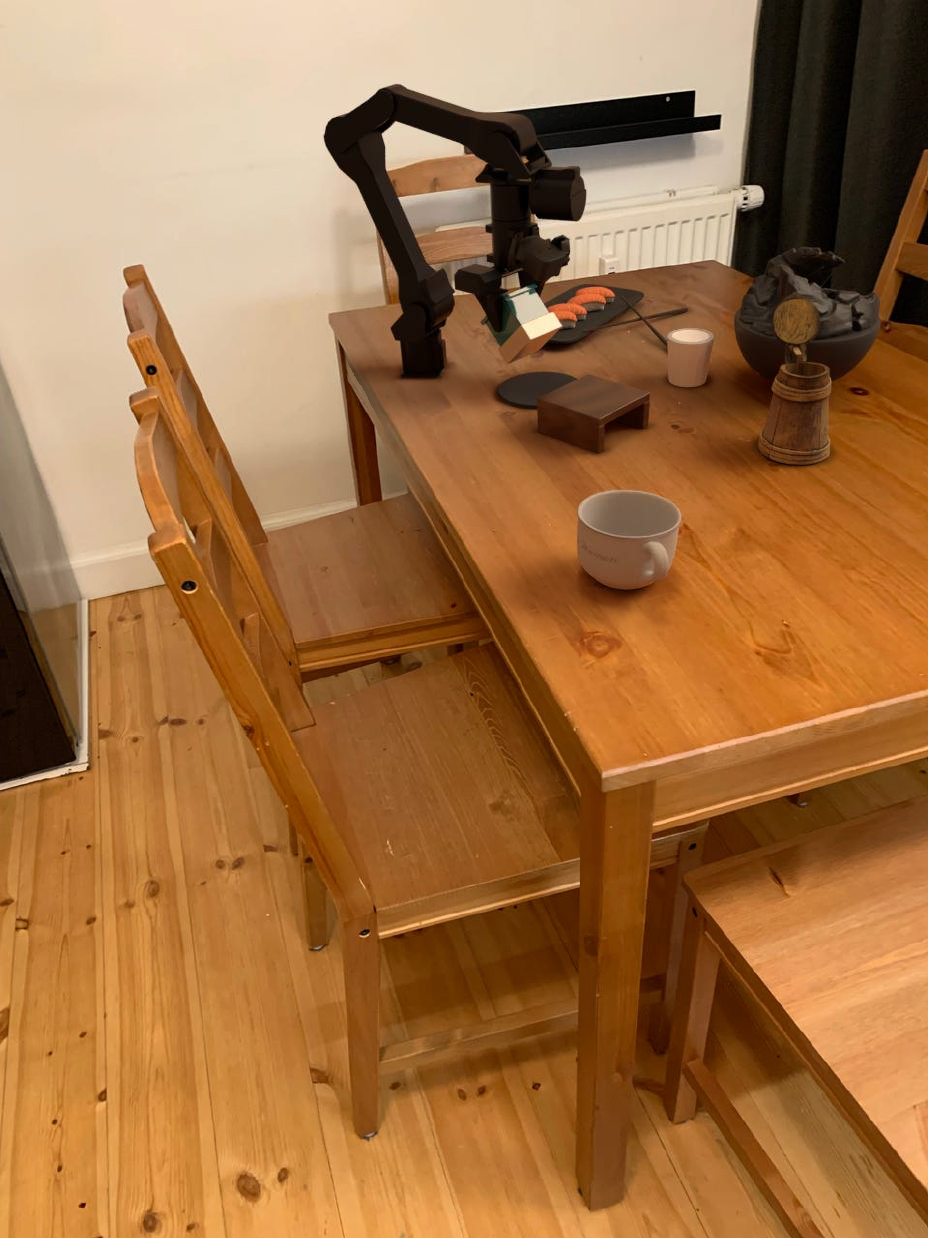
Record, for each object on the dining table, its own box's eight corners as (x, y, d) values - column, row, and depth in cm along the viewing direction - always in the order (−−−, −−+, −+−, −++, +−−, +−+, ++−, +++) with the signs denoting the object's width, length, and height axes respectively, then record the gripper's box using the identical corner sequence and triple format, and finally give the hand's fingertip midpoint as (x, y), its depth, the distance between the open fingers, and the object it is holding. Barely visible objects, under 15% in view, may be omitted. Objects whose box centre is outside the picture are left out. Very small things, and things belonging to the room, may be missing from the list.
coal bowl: (827, 352, 152) (848, 228, 141) (894, 400, 136) (923, 265, 125) (707, 367, 150) (718, 243, 139) (761, 418, 134) (779, 283, 123)
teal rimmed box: (480, 322, 144) (502, 295, 138) (511, 309, 148) (535, 282, 142) (506, 364, 144) (530, 339, 138) (538, 350, 148) (562, 326, 142)
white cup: (710, 389, 143) (714, 343, 139) (663, 388, 145) (666, 343, 141) (709, 371, 149) (714, 327, 145) (665, 370, 150) (667, 326, 146)
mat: (492, 408, 143) (492, 404, 142) (504, 374, 153) (504, 371, 153) (580, 409, 140) (580, 405, 140) (586, 375, 151) (586, 371, 150)
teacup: (568, 552, 109) (569, 490, 104) (662, 543, 110) (666, 481, 105) (592, 624, 98) (594, 558, 93) (696, 613, 98) (703, 547, 94)
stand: (537, 431, 135) (537, 398, 132) (587, 406, 141) (588, 373, 138) (598, 453, 129) (599, 419, 126) (648, 425, 135) (650, 392, 132)
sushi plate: (581, 291, 184) (581, 271, 182) (729, 314, 169) (732, 292, 167) (496, 340, 165) (495, 318, 163) (655, 370, 150) (656, 347, 148)
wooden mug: (809, 419, 133) (830, 288, 123) (837, 463, 122) (863, 324, 112) (744, 422, 134) (760, 292, 123) (767, 467, 123) (786, 328, 112)
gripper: (507, 240, 125) (510, 356, 135) (598, 210, 135) (595, 319, 145) (448, 228, 132) (455, 338, 141) (539, 199, 142) (540, 304, 151)
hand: (513, 325), depth 144 cm, fingers closed on teal rimmed box, 7 cm apart
